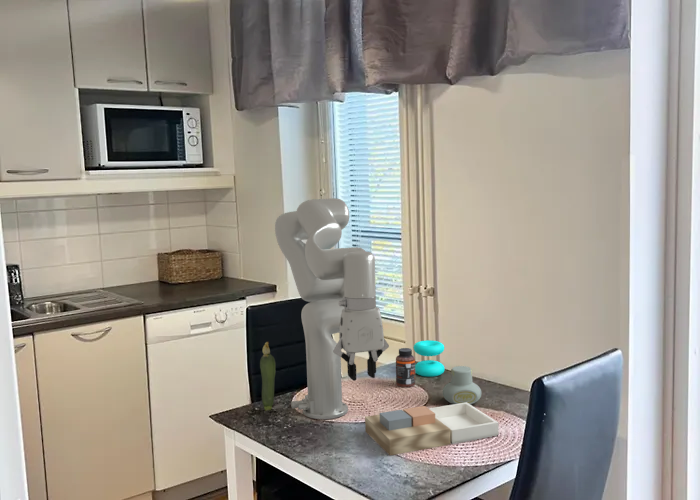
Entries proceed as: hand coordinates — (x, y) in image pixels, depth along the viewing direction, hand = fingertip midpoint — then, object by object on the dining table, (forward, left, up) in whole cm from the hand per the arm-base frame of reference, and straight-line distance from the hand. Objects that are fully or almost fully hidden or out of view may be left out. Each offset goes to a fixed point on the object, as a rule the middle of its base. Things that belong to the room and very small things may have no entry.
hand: (362, 376), depth 168 cm
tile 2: (+15, 0, -13) cm, 20 cm away
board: (+12, 0, -17) cm, 21 cm away
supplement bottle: (+28, +38, -18) cm, 51 cm away
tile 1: (+8, 0, -13) cm, 16 cm away
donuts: (+40, +46, -18) cm, 64 cm away
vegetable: (-16, +34, -18) cm, 41 cm away
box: (+26, 0, -17) cm, 32 cm away
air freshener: (+36, +17, -18) cm, 44 cm away
